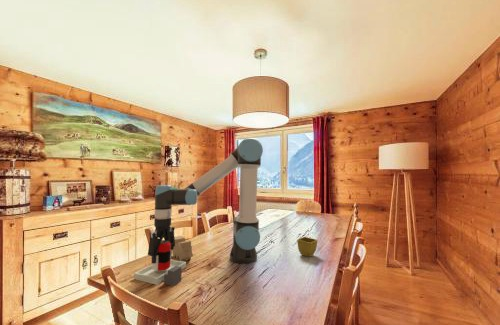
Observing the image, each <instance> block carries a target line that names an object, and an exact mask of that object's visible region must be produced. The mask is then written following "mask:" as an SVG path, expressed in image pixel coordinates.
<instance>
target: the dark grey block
mask: <svg viewBox="0 0 500 325" xmlns="http://www.w3.org/2000/svg"><path fill="white" fill-rule="evenodd" d="M181 281H182V270H181V267H179V266H175V267H173V268H171V269H169V270H168V272H167V273H165V274H164V281H163V284H165V285H168V286H171V287H175V286H176V285H177V284H178V283H180V282H181Z"/></svg>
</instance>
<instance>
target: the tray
mask: <svg viewBox="0 0 500 325" xmlns="http://www.w3.org/2000/svg"><path fill="white" fill-rule="evenodd" d="M175 266H179V267H181V271H183V270H184V269H185V268H187V262H186V261H180V260H179V259H178V260H176V259H172V258H171V263H170V267H169V268H168V269H166V270H163V271H156V270H152V264H150V265H148V266H146V267H144V268H142V269H140V270H137V271H135V272H134V273H133V279H134V280H137V281H141V282H144V283H149V284H153V285H156V286H157V285H159V284H161V283H162V282H164V274H165V273H167V272H168V270H169V269H171V268H173V267H175Z"/></svg>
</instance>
